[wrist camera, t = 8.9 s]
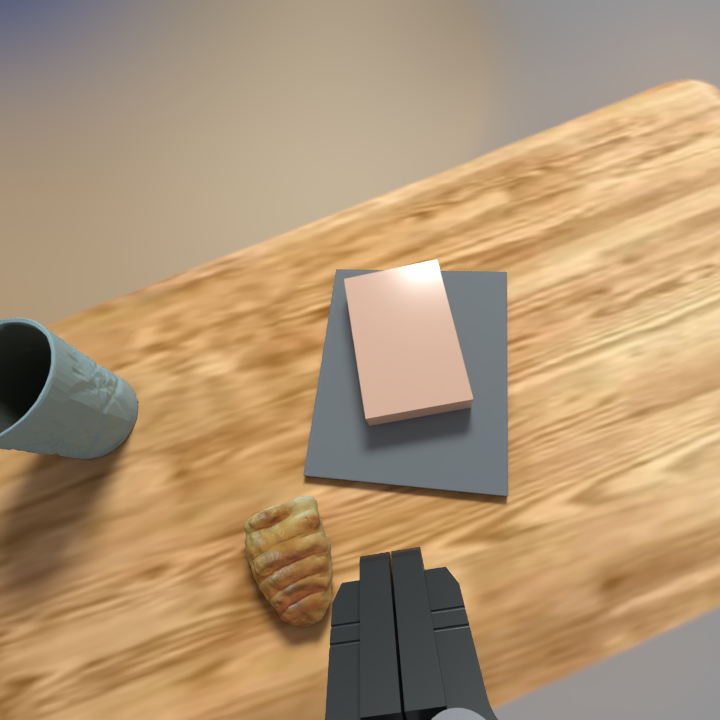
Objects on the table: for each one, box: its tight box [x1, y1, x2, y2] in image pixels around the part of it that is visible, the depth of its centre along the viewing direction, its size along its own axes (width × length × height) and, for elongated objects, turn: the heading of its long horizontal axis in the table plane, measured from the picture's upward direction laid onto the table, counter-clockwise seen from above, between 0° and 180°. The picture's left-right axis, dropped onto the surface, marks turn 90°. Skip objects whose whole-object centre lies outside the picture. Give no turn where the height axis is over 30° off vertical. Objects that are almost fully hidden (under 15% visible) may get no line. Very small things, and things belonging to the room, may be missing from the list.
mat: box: [304, 269, 508, 497], centre depth 42 cm, size 17×21×1 cm
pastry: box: [244, 496, 332, 627], centre depth 35 cm, size 9×7×4 cm
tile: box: [344, 260, 473, 426], centre depth 41 cm, size 3×9×14 cm
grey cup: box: [0, 318, 138, 459], centre depth 39 cm, size 10×10×12 cm
